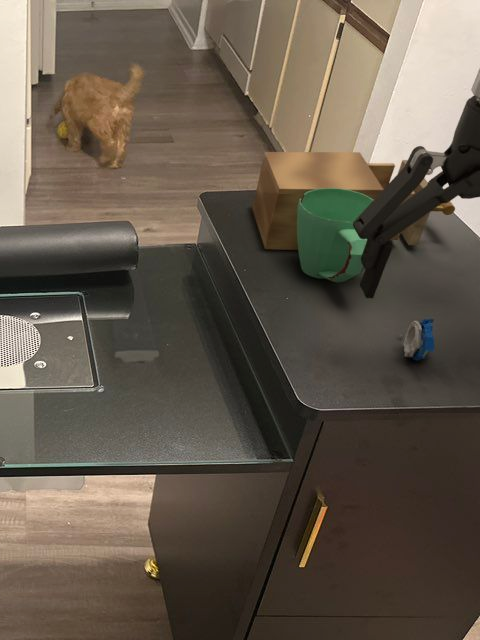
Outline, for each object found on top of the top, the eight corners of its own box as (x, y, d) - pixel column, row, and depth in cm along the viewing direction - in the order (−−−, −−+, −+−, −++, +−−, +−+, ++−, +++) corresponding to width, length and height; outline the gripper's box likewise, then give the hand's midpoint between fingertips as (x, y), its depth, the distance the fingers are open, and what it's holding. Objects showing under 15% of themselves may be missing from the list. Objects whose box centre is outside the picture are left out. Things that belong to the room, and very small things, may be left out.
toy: (425, 371, 84) (440, 337, 81) (392, 367, 85) (406, 332, 82) (419, 346, 88) (434, 312, 85) (387, 342, 89) (401, 308, 86)
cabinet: (342, 210, 114) (359, 152, 108) (363, 251, 105) (384, 189, 99) (252, 209, 116) (264, 151, 110) (264, 249, 107) (279, 188, 101)
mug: (273, 252, 106) (289, 189, 99) (343, 250, 105) (363, 186, 99) (305, 310, 95) (325, 242, 88) (383, 308, 94) (409, 239, 88)
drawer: (422, 208, 112) (441, 160, 106) (448, 245, 103) (470, 195, 98) (308, 206, 114) (321, 159, 109) (325, 243, 105) (339, 193, 100)
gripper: (383, 115, 66) (320, 308, 80) (691, 116, 62) (570, 318, 76) (361, 87, 72) (306, 272, 85) (643, 87, 68) (538, 280, 82)
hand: (431, 294), depth 81 cm, fingers open, 13 cm apart
